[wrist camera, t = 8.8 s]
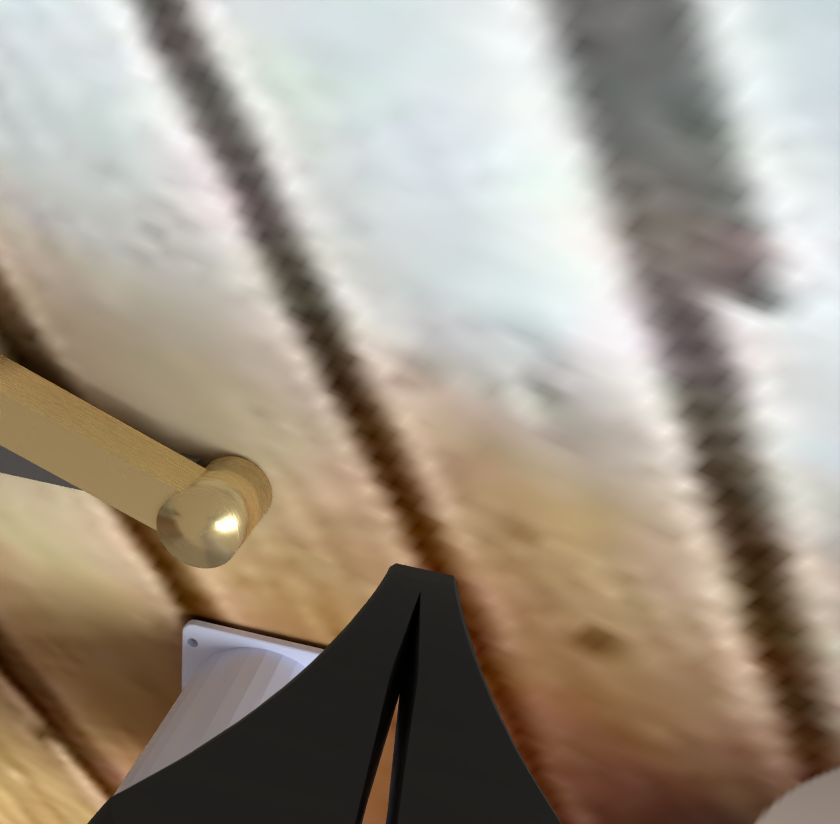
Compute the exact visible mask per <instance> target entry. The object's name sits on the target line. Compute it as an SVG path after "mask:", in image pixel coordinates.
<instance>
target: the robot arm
mask: <svg viewBox="0 0 840 824" xmlns="http://www.w3.org/2000/svg"><path fill="white" fill-rule="evenodd" d="M194 639H195V640H194ZM399 694H400V695H399ZM398 697H399V704H398V714H397V724H396V734H395V744H394V754H393V763H392V773H391V783H390V793H389V803H388V812H387V819H386V824H562V823H561V821H560V819H559V818H558V816H557V815H556V813H555V811H554V810H553V808H552V807H551V805H550V803H549V802H548V800H547V799H546V797H545V795H544V794H543V792H542V791H541V789H540V787H539V786H538V784H537V783H536V781H535V779H534V778H533V776H532V775H531V773H530V771H529V769H528V768H527V766H526V764H525V762H524V760H523V758H522V757H521V755H520V753H519V751H518V749H517V747H516V746H515V744H514V742H513V740H512V738H511V736H510V734H509V732H508V730H507V728H506V726H505V724H504V722H503V720H502V718H501V716H500V713H499V711H498V709H497V707H496V705H495V702H494V700H493V698H492V696H491V693H490V691H489V688H488V686H487V683H486V681H485V679H484V676H483V674H482V671H481V668H480V666H479V663H478V660H477V657H476V654H475V651H474V648H473V645H472V642H471V639H470V636H469V633H468V630H467V626H466V623H465V619H464V615H463V611H462V607H461V603H460V598H459V592H458V583H457V581H456V579H455V578H454V576H451V575H447V574H442V573H438V572H433V571H428V570H424V569H419V568H415V567H410V566H406V565H401V564H397V563H396V564H394V565H392V566H391V567H390V568H389V570H388V572H387V574H386V575H385V577H384V579H383V580H382V582H381V583H380V585H379V586H378V588H377V589H376V591H375V592H374V593H373V595H372V596H371V597H370V599H369V600H368V601H367V603H366V604H365V605H364V606H363V607H362V609H361V610H360V611H359V612H358V613H357V615H356V616H355V617H354V618H353V619H352V621H351V622H350V623H349V624H348V625H347V626H346V627H345V629H344V630H343V631H342V632H341V633H340V634H339V635H338V636H337V637H336V638H335V639H334V640H333V641H332V642H331V643H330V644H329V645H328V646H327V647H326V648H325V649H320V648H316V647H312V646H307V645H303V644H299V643H294V642H290V641H286V640H281V639H277V638H273V637H269V636H264V635H260V634H256V633H251V632H247V631H243V630H238V629H234V628H230V627H225V626H221V625H217V624H212V623H208V622H204V621H199V620H190V621H188V622H187V623H186V625H185V626H184V627H183V631H182V692H181V694H180V695H179V697H178V698H177V700H176V701H175V703H174V704H173V706H172V707H171V709H170V710H169V712H168V713H167V715H166V716H165V718H164V719H163V721H162V722H161V724H160V725H159V727H158V729H157V730H156V732H155V733H154V735H153V736H152V738H151V739H150V741H149V742H148V744H147V745H146V747H145V748H144V750H143V751H142V753H141V754H140V756H139V757H138V759H137V760H136V762H135V764H134V765H133V767H132V768H131V770H130V771H129V773H128V774H127V776H126V777H125V779H124V780H123V782H122V783H121V785H120V786H119V788H118V789H117V791H116V792H115V794H114V795H113V796H112V797H110V798H109V800H108V801H107V802H106V803H105V804H104V805H103V806H102V807H101V808H100V810H99V811H98V812H97V813H96V814H95V815H94V817H93V818H92V819H91V820H90V821H89V822H88V824H362V821H363V817H364V813H365V809H366V805H367V802H368V798H369V795H370V792H371V788H372V785H373V781H374V778H375V775H376V771H377V768H378V765H379V761H380V758H381V755H382V751H383V748H384V744H385V741H386V738H387V734H388V731H389V728H390V724H391V721H392V717H393V714H394V711H395V707H396V704H397V701H398Z"/></svg>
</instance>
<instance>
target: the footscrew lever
mask: <svg viewBox="0 0 840 824" xmlns="http://www.w3.org/2000/svg"><path fill="white" fill-rule="evenodd" d="M0 445H1V446H3V447H5V448H7V449H8V450H10V451H12V452H14V453H16V454H18V455H19V456H21V457H23V458H25V459H27V460H29V461H30V462H32V463H34V464H36V465H38V466H39V467H41V468H43V469H45V470H47V471H49V472H50V473H52V474H54V475H56V476H58V477H60V478H61V479H63V480H65V481H67V482H69V483H71V484H72V485H74V486H76V487H78V488H80V489H82V490H83V491H85V492H87V493H89V494H91V495H92V496H94V497H96V498H98V499H100V500H102V501H103V502H105V503H107V504H109V505H111V506H113V507H114V508H116V509H118V510H120V511H122V512H124V513H125V514H127V515H129V516H131V517H133V518H135V519H136V520H138V521H140V522H142V523H144V524H146V525H147V526H149V527H151V528H153V529H155V530H156V531H158V535H159V537H160V540H161V541H162V543H163V545H164V546H165V548H166V549H167V550H168V551H169V552H170V553H171V554H172V555H173V556H174V557H176V558H177V559H178V560H180V561H182V562H184V563H186V564H188V565H191V566H194V567H198V568H214V567H218V566H221V565H223V564H225V563H226V562H228V561H229V560H230V559H231V558H232V557H233V555H234V554H235V553H236V552H237V550H238V549H239V548H240V546H241V545H242V544H243V542H244V541H245V540H246V539H247V537H248V536H249V535H250V533H251V532H252V531H253V529H254V528H255V527H256V526H257V524H258V523H259V522H260V520H261V519H262V518H263V516H264V515H265V514H266V513H267V511H268V509H269V508H270V505H271V502H272V489H271V486H270V483H269V481H268V479H267V477H266V475H265V474H264V473H263V472H262V471H261V470H260V469H259V468H258V467H257V466H256V465H255V464H253V463H252V462H250V461H248V460H246V459H243V458H240V457H234V456H226V457H221V458H218V459H215V460H214V461H212V462H211V463H209V464H208V465H207V466H206V467H205V468H203V467H202V466H200V465H198V464H196V463H194V462H193V461H191V460H189V459H187V458H186V457H184V456H182V455H180V454H178V453H177V452H175V451H173V450H171V449H169V448H168V447H166V446H164V445H162V444H160V443H159V442H157V441H155V440H153V439H152V438H150V437H148V436H146V435H144V434H143V433H141V432H139V431H137V430H135V429H134V428H132V427H130V426H128V425H126V424H125V423H123V422H121V421H119V420H117V419H116V418H114V417H112V416H110V415H109V414H107V413H105V412H103V411H101V410H100V409H98V408H96V407H94V406H92V405H91V404H89V403H87V402H85V401H83V400H82V399H80V398H78V397H76V396H75V395H73V394H71V393H69V392H67V391H66V390H64V389H62V388H60V387H58V386H57V385H55V384H53V383H51V382H49V381H48V380H46V379H44V378H42V377H41V376H39V375H37V374H35V373H33V372H32V371H30V370H28V369H26V368H24V367H23V366H21V365H19V364H17V363H15V362H14V361H12V360H10V359H8V358H7V357H5V356H3V355H1V354H0Z"/></svg>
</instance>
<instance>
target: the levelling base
mask: <svg viewBox="0 0 840 824" xmlns="http://www.w3.org/2000/svg"><path fill="white" fill-rule="evenodd" d="M178 454H180V453H178ZM180 455H182V456H184V457H186V458H187V459H189V460H191V461H193V462H194V463H196V464H198V465H200V466H201V458H199V457H194V456H189V455H185V454H180ZM0 472H1V473H5V474H10V475H14V476H19V477H24V478H28V479H33V480H37V481H42V482H46V483H51V484H56V485H60V486H65V487H69V488H74V489H78V490H82V489H80V488H78V487H76V486H74V485H72V484H71V483H69V482H67V481H65V480H63V479H61V478H60V477H58V476H56V475H54V474H52V473H50V472H49V471H47V470H45V469H43V468H41V467H39V466H38V465H36V464H34V463H32V462H30V461H29V460H27V459H25V458H23V457H21V456H19V455H18V454H16V453H14V452H12V451H10V450H8V449H7V448H5V447H3V446H1V445H0Z"/></svg>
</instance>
